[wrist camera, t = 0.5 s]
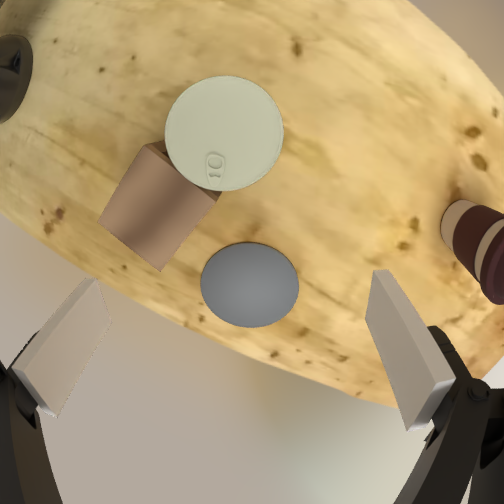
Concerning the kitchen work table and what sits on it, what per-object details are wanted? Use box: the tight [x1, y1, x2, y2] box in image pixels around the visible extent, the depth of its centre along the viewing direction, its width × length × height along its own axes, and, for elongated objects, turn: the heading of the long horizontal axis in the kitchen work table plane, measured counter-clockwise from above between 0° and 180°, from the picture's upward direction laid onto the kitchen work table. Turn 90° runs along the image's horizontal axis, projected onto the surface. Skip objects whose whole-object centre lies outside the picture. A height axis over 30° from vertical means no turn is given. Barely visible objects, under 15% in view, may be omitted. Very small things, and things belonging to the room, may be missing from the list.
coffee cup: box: [441, 200, 504, 305], centre depth 27 cm, size 10×10×15 cm
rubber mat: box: [201, 242, 299, 328], centre depth 39 cm, size 13×13×1 cm
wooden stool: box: [98, 140, 222, 272], centre depth 30 cm, size 8×9×10 cm
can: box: [165, 76, 284, 191], centre depth 26 cm, size 9×9×12 cm
